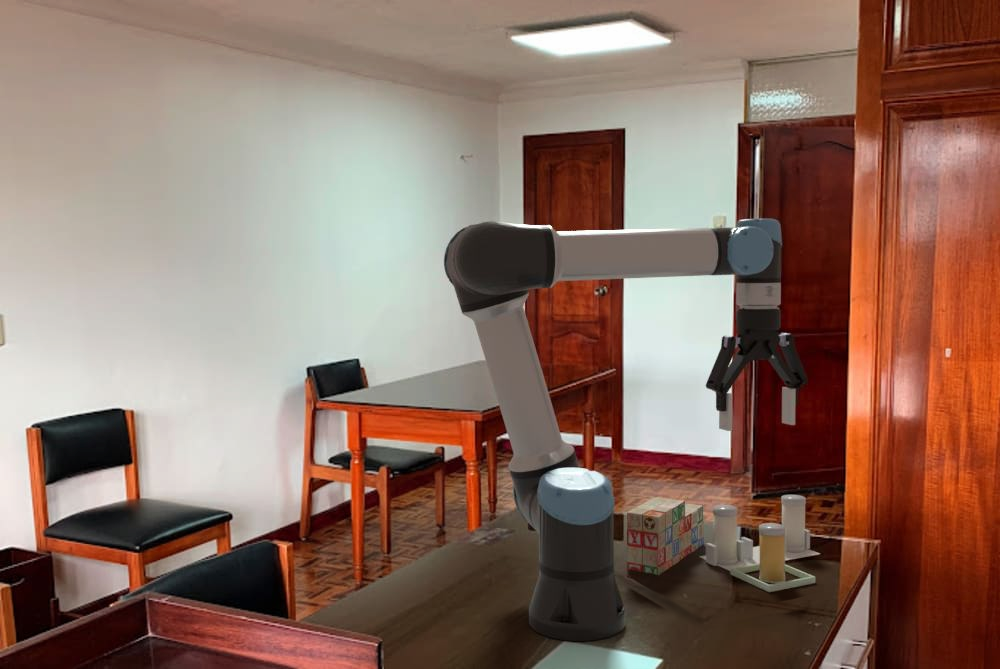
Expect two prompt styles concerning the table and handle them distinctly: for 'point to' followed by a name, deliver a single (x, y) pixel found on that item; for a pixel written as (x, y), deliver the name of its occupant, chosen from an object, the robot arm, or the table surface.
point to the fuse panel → (753, 552)
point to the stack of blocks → (662, 534)
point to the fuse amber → (772, 552)
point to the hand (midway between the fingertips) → (757, 427)
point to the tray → (804, 580)
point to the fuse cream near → (725, 533)
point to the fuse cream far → (794, 522)
